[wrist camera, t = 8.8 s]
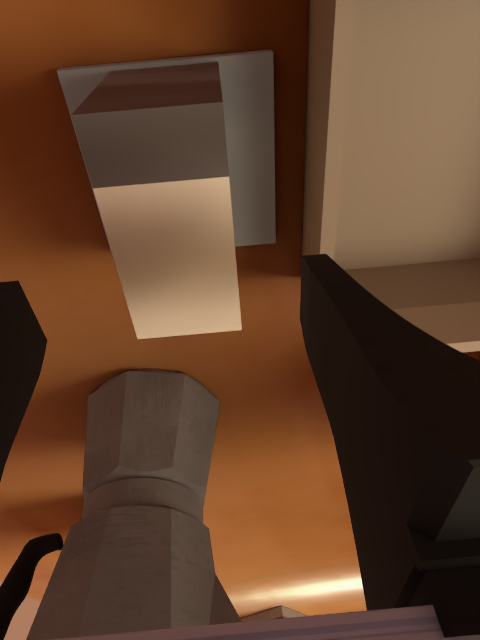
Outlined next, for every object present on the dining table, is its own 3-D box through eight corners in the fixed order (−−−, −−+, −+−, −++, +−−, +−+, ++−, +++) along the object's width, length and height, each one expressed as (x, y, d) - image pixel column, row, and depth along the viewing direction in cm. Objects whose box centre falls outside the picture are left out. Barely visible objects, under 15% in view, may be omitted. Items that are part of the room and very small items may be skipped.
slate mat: (274, 237, 21) (275, 243, 21) (114, 251, 21) (112, 257, 21) (271, 49, 16) (273, 52, 16) (60, 67, 16) (56, 70, 16)
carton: (526, 257, 23) (613, 338, 18) (300, 277, 23) (326, 364, 18) (667, -75, 15) (907, -94, 10) (310, -44, 14) (365, -48, 10)
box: (234, 249, 21) (241, 329, 16) (152, 256, 21) (137, 339, 16) (218, 61, 16) (222, 102, 11) (110, 70, 16) (71, 115, 11)
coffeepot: (229, 343, 26) (256, 778, 12) (262, 431, 32) (305, 791, 18) (-1, 395, 28) (-209, 828, 14) (71, 470, 34) (-24, 824, 20)
